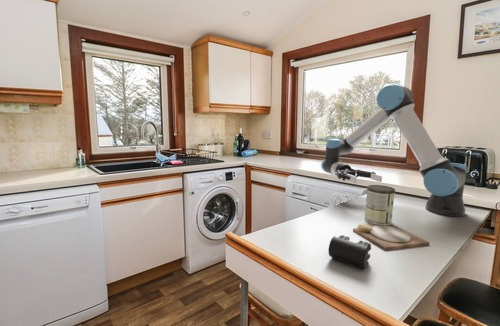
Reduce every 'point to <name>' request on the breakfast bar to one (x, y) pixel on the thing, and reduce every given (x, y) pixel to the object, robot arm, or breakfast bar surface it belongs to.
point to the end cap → (350, 251)
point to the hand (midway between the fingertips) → (368, 179)
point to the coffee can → (379, 204)
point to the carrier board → (389, 237)
